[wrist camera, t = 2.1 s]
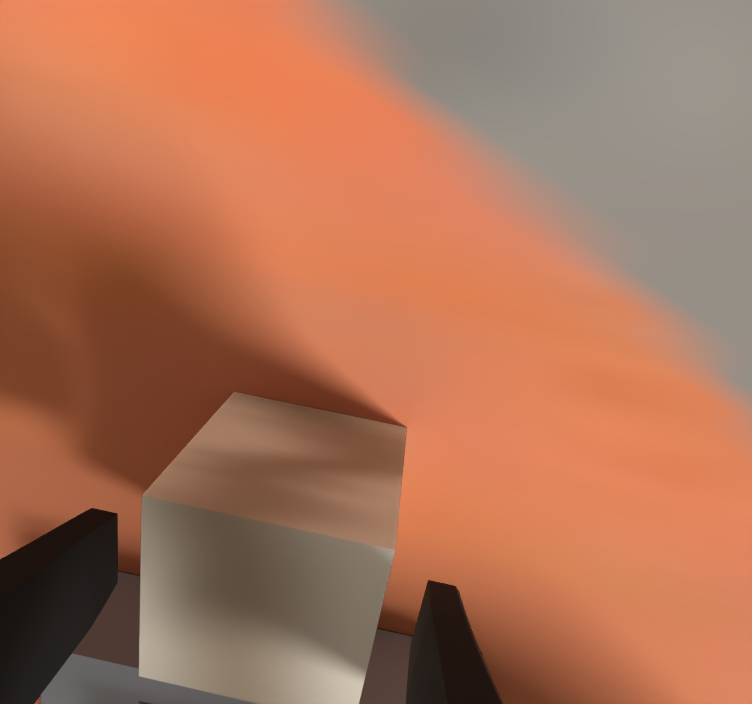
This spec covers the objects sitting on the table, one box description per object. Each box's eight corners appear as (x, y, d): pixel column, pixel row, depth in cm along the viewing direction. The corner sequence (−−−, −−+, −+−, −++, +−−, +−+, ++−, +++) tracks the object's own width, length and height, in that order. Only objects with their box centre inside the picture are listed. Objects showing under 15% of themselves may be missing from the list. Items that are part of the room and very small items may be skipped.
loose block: (406, 426, 14) (395, 550, 10) (376, 563, 16) (353, 725, 11) (235, 390, 15) (141, 495, 10) (222, 530, 16) (138, 676, 12)
